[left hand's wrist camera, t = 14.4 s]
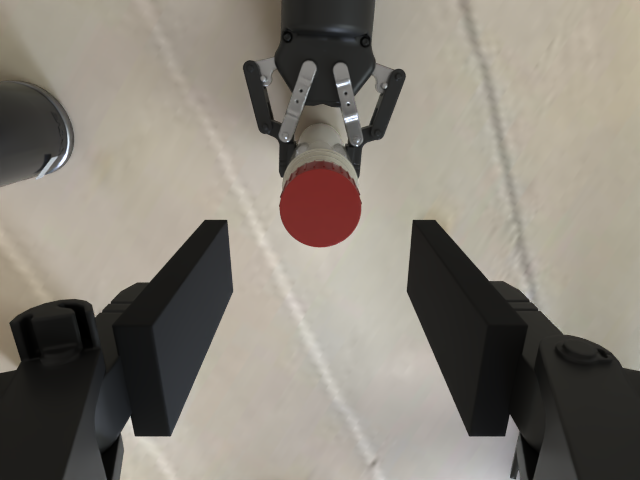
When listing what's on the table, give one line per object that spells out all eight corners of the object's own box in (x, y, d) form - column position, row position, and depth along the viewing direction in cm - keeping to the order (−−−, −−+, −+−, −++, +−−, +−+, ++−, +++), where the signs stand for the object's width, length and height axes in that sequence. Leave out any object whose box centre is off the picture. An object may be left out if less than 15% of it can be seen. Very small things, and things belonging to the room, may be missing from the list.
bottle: (298, 167, 43) (274, 249, 21) (298, 122, 42) (273, 159, 19) (341, 168, 43) (363, 251, 21) (343, 123, 42) (369, 162, 19)
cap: (282, 232, 23) (278, 247, 21) (282, 158, 21) (277, 166, 19) (355, 234, 23) (359, 249, 21) (360, 160, 21) (365, 168, 19)
